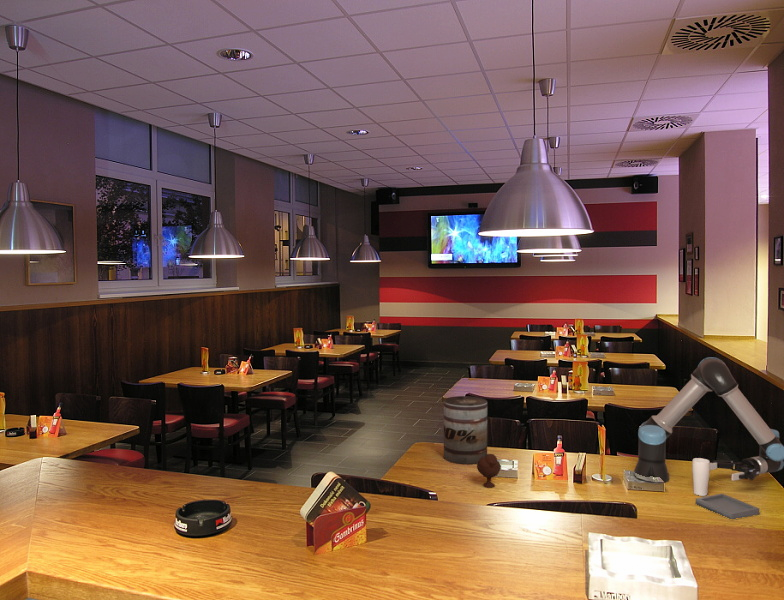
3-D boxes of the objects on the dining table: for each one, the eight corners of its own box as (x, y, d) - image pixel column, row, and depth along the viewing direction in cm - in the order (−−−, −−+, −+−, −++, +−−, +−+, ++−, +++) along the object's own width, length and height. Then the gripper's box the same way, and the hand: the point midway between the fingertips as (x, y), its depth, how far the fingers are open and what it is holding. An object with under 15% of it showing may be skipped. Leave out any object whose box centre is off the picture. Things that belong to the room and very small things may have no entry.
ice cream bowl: (502, 482, 276) (502, 450, 276) (498, 491, 266) (498, 458, 265) (479, 480, 280) (479, 448, 279) (474, 488, 269) (474, 455, 269)
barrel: (434, 456, 316) (434, 400, 314) (465, 448, 329) (465, 394, 328) (464, 467, 298) (464, 407, 296) (496, 458, 311) (496, 401, 310)
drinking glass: (711, 497, 257) (712, 463, 256) (694, 496, 258) (695, 462, 258) (706, 492, 264) (707, 458, 263) (689, 490, 265) (690, 457, 264)
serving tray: (695, 504, 250) (695, 498, 250) (722, 499, 255) (722, 493, 255) (731, 520, 234) (731, 514, 234) (759, 514, 240) (759, 508, 239)
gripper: (779, 483, 260) (744, 490, 253) (728, 465, 283) (695, 471, 276) (780, 466, 260) (744, 472, 252) (729, 450, 283) (695, 455, 276)
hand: (718, 472), depth 264 cm, fingers open, 13 cm apart
